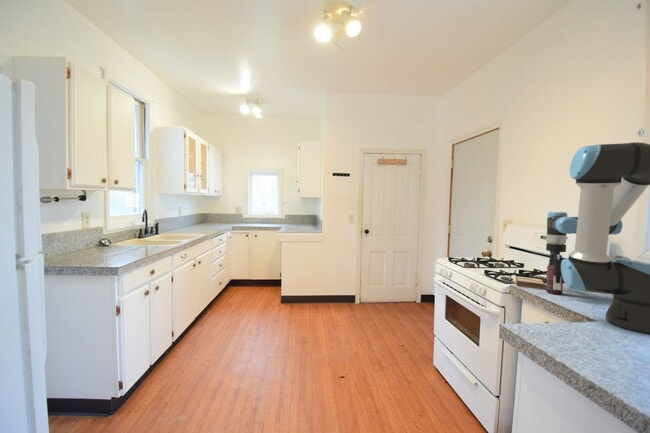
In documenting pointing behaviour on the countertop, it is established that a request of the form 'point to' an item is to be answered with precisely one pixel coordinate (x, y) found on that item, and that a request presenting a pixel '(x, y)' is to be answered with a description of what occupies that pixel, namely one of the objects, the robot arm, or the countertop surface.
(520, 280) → the stand
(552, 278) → the can
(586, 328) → the countertop surface
